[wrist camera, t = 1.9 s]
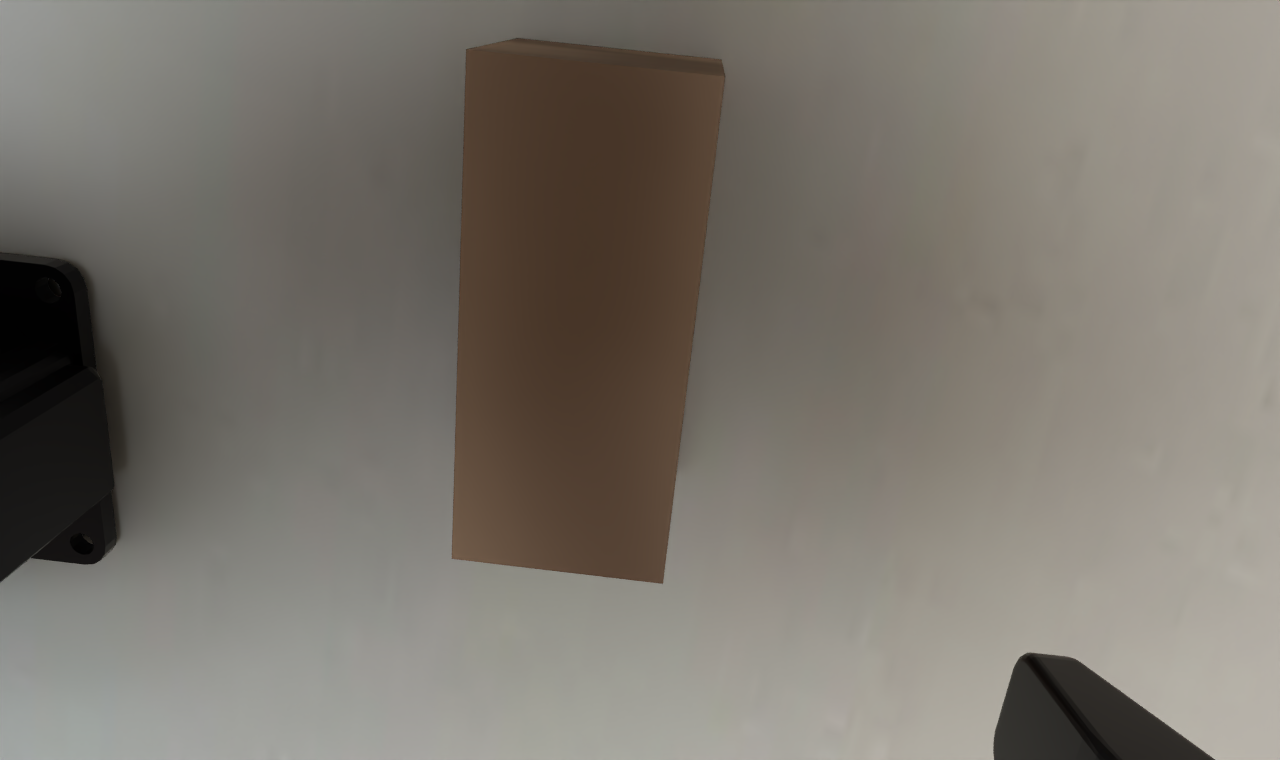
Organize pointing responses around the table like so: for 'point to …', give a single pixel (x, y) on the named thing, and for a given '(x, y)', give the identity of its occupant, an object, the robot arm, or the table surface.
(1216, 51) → the table surface
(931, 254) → the table surface
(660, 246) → the tall brown cuboid
